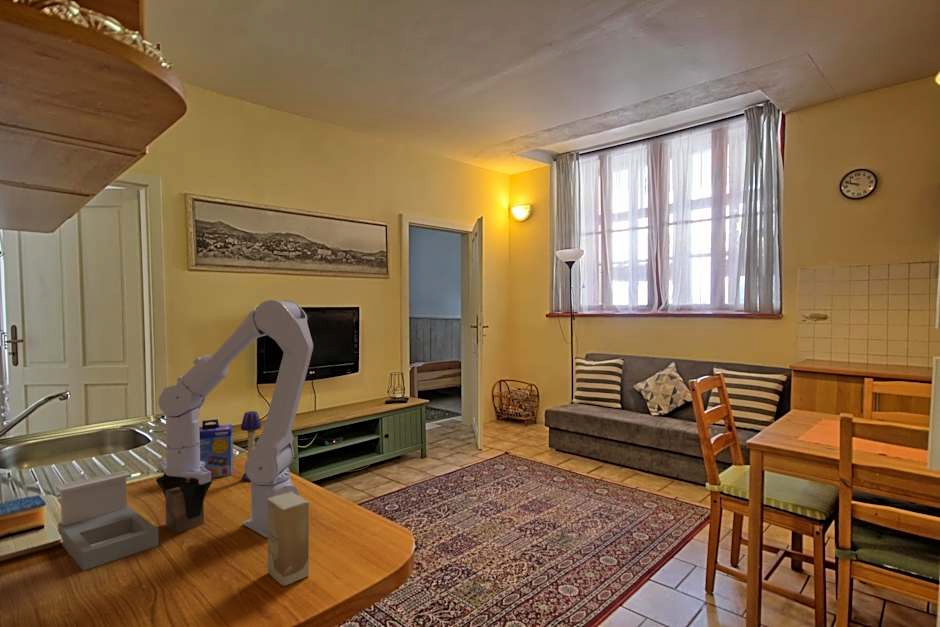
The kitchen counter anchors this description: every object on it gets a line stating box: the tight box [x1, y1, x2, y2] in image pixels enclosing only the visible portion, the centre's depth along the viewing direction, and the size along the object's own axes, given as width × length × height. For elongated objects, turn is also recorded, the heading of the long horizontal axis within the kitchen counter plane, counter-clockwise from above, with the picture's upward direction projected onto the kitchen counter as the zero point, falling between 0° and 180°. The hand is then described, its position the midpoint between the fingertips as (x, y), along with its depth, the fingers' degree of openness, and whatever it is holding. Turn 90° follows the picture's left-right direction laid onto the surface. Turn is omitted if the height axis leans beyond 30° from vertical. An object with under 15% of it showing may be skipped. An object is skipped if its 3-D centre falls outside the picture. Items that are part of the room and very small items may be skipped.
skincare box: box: [267, 492, 310, 587], centre depth 80 cm, size 6×4×12 cm
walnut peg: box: [165, 487, 205, 534], centre depth 99 cm, size 5×5×7 cm
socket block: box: [55, 470, 160, 571], centre depth 92 cm, size 18×11×10 cm, turn 50°
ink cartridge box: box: [199, 419, 234, 479], centre depth 128 cm, size 10×6×14 cm, turn 113°
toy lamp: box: [240, 410, 262, 482], centre depth 125 cm, size 5×5×17 cm
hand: (184, 513), depth 99 cm, fingers closed on walnut peg, 6 cm apart
